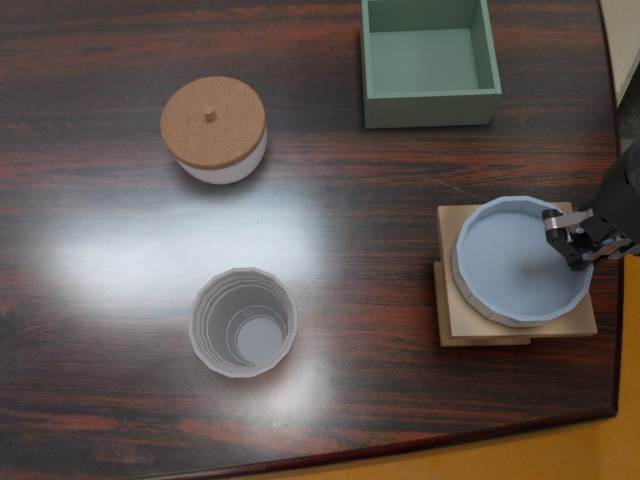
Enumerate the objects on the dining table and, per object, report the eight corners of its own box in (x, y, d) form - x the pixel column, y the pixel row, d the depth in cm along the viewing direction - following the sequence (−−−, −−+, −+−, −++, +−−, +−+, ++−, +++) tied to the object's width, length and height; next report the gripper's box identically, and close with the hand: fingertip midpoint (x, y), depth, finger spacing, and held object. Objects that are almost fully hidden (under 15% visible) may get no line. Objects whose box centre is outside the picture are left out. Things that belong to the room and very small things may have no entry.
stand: (525, 250, 66) (570, 201, 53) (543, 357, 61) (598, 333, 48) (419, 253, 66) (437, 205, 53) (428, 360, 61) (451, 336, 48)
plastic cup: (203, 380, 62) (172, 366, 50) (226, 291, 65) (202, 258, 54) (296, 397, 60) (285, 386, 49) (313, 305, 64) (307, 275, 53)
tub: (473, 27, 78) (484, -10, 72) (488, 124, 72) (502, 93, 66) (359, 32, 79) (361, -4, 73) (365, 129, 73) (367, 98, 67)
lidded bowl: (177, 201, 70) (148, 159, 60) (184, 119, 75) (159, 66, 64) (273, 198, 70) (261, 155, 59) (274, 116, 74) (263, 62, 64)
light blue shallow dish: (566, 207, 52) (578, 193, 50) (590, 326, 48) (605, 319, 45) (444, 211, 53) (450, 198, 50) (458, 330, 48) (465, 322, 46)
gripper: (783, 115, 34) (642, 221, 51) (573, 122, 35) (500, 225, 51) (825, 222, 32) (662, 298, 48) (596, 229, 32) (511, 302, 48)
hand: (578, 261), depth 49 cm, fingers closed on light blue shallow dish, 1 cm apart
